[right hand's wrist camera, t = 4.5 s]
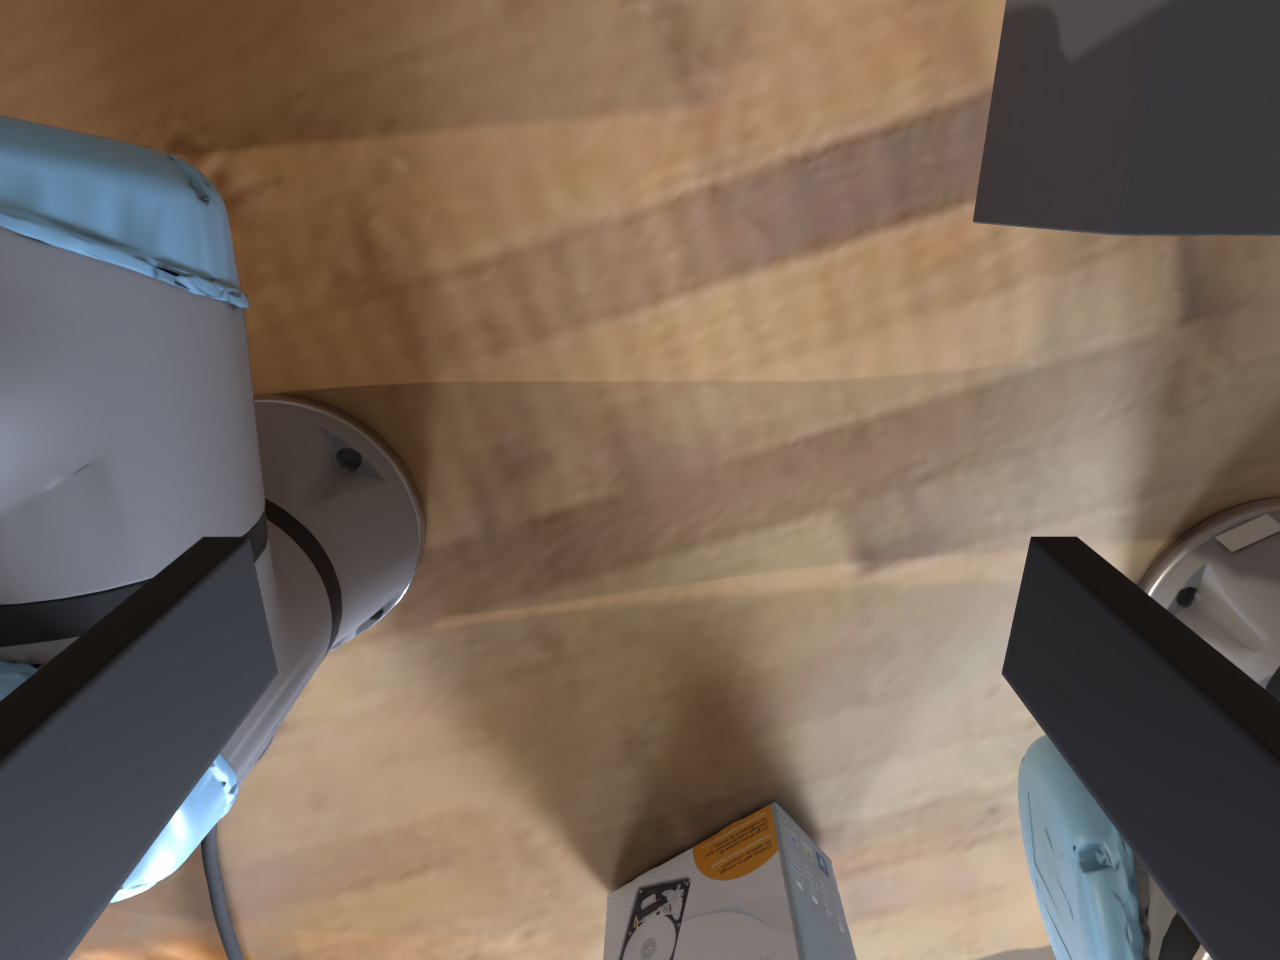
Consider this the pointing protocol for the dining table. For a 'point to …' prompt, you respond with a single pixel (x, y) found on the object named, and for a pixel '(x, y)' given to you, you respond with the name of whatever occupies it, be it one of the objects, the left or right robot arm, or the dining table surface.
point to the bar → (1135, 118)
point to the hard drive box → (734, 900)
